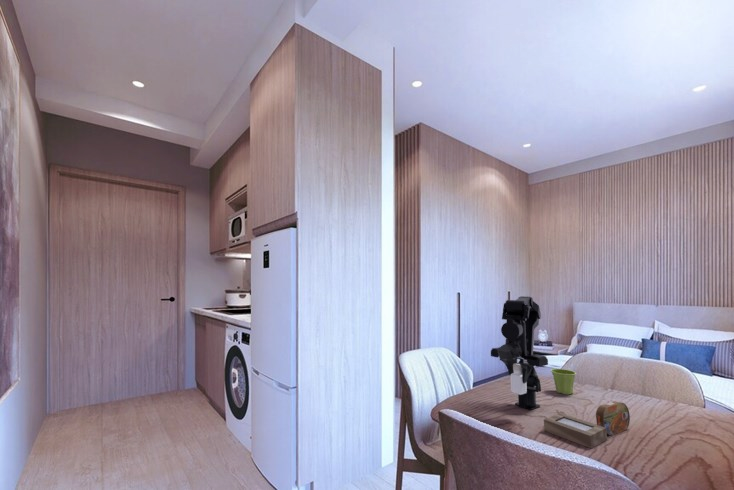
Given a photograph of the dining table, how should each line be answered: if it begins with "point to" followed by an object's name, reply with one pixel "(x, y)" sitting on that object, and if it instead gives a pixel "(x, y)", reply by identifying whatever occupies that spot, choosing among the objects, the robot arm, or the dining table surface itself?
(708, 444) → the dining table surface
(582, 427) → the white flat block
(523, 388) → the pepper shaker
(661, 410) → the dining table surface
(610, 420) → the tin
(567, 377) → the plant pot
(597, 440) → the guide block
